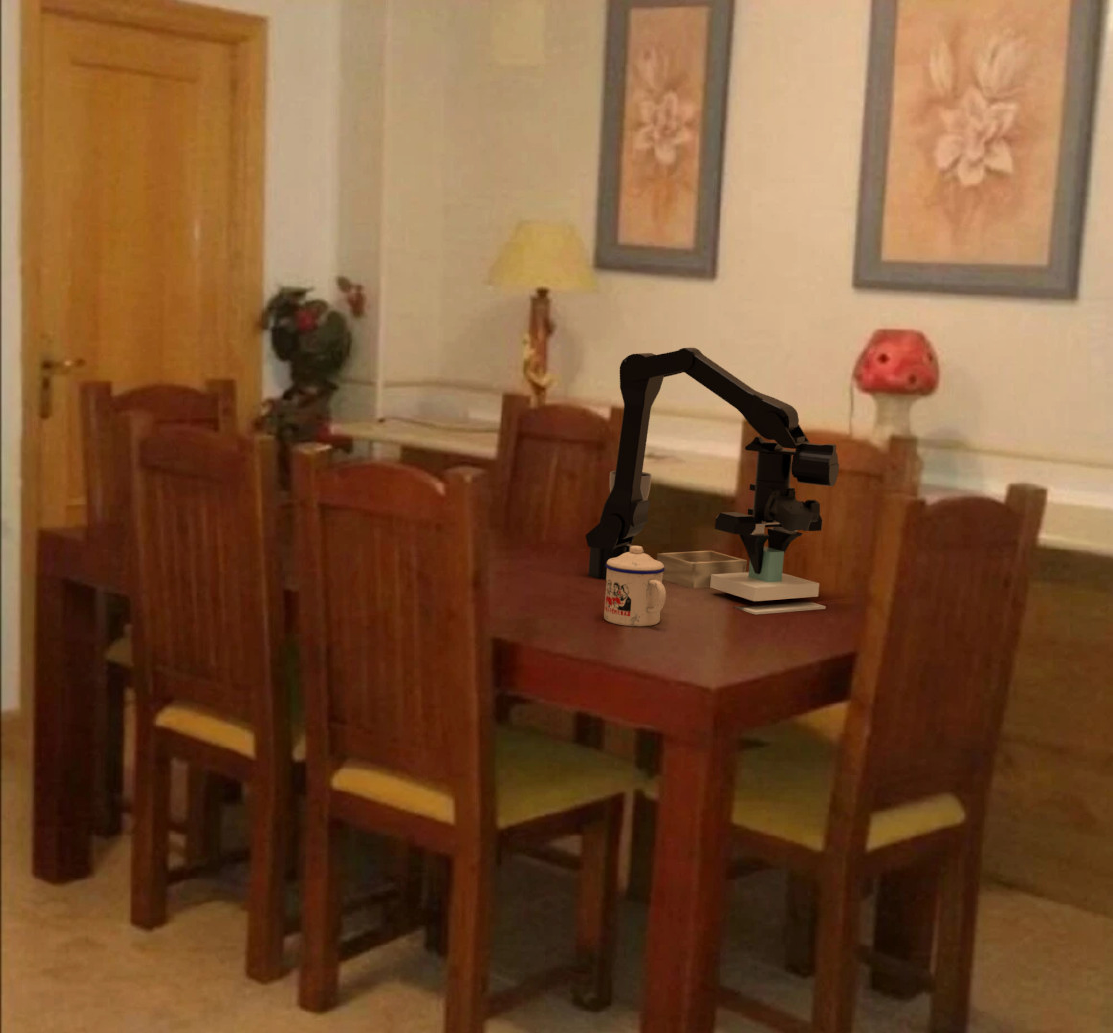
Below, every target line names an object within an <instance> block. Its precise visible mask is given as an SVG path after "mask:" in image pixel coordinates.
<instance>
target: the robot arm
mask: <svg viewBox="0 0 1113 1033" xmlns="http://www.w3.org/2000/svg"><path fill="white" fill-rule="evenodd" d="M683 373H684V374H686V375H687V376H689V377H690V378H692V379H694V380H695V381H696V382H698V383H699V384H700V385H702V386H703V387H705V388H706V389H708V390H709V391H710V392H711V393H713V394H715V395H716V396H718V397H719V398H720V399H722V400H723V401H724V402H727V403H728V404H729V405H730V406H732V407H733V408H735V409H736V410H737V411H738V412H740V414H741V415H742V416H743V417H744V419H745V420H746V422H747V423H748V424H749V426H751V428H753V429H754V431H756V433H757V434H759V436H754V438H753V440H752V441H751V442H750V443H748V444H747V445H745V447H744V449H745V450H746V451H751V452H756V453H757V456H756V466H755V467H756V468H755V479H754V483H749V491H753V502H752V503H753V505H752V506H753V507H751V508H747V514H746V513H742V512H739V511H738V512H736V511H731V512H719V513H718V515H717V516H716V517H715V524H714V525H715V526H714V530H717V531H718V530H719V531H721V532H724V533H725V532H726V533H728V534H733V535H738V536H739V538H740V540H741V542H742V544H743V545H744V548H745V550H746V552H747V556H748V558H749V562H750V561H751V564H752V567H753V569H754V572H755V573H756V574H760V573H761V569H762V562H763V551H764V546H765V543H766V542H767V547H769V548H773V549H776V550H780V551H784V555H785V554H786V551H787V550H788V547H789V546H790V544H791V543H792V542H793V541H794V540H795V539H797V538H798V537H802V535H803V533H802V532H799V531H803V532H807V531H808V532H818V531H820V532H821V531H822V530H823V519H822V517H821V515H820V514H821V510H820V509H821V504H820V502H819V501H818V500H816V499H807V500H805V501H803V500H802V501H799V500H797V498H796V494H797V492H796V490H795V487H792V486H791V477H792V476H793V478H796V481H797V482H798V483H800V484H807V485H815V486H823V487H825V486H826V487H834V486H835V484H836V482H837V480H838V476H839V471H840V463H839V457H838V453H837V445H836V444H834V443H833V444H831V443H826V444H821V443H812V442H810V440H809V438H808V437H807V436H806V433H805V432H804V431H803V429H802V428H801V426H800V425H801V424H800V423H799V422H800V420H799V414H798V411H797V409H796V408H795V407H794V406H792V405H790V404H788V403H787V402H784V401H782V400H780V399H778V398H776V397H773V396H769V395H767V394H765V393H762V392H759V391H757V390H755V389H754V388H752V387H751V386H749V384H746V383H745V382H743V381H742V380H741V379H739V378H738V377H736V376H734V375H733V374H732V373H730V372H729V371H728V370H726V369H725V368H723V367H722V366H720V365H719V364H718V363H716V362H714V361H713V360H712V359H711V358H709V357H707V356H706V355H705V354H703V353H702V351H701V350H700V349H698V348H697V347H682V348H680V349H678V350H674V351H673V350H672V351H670V352H669V351H668V352H664V353H660V354H659V353H658V354H656V353H653V352H645V353H643V352H641V353H632V354H629V355H627V356H626V357H625V358H624V359H622V361H621V363H620V366H619V389H620V394H621V397H622V400H623V411H622V412H623V413H622V419H621V426H620V427H621V429H620V434H619V442H618V450H617V458H616V465H615V471H616V472H615V480H614V486H613V488H612V490H611V492H610V491H609V493H608V494H609V495H607V496H608V497H607V499H606V500H605V502H604V506H603V507H602V508H603V509H602V512H601V515H600V518H599V523H598V524H596V525H595V526H594V527H593V528H592V529H591V530H589V532H587V534H585V539H586V544H587V547H588V548H589V557H588V558H589V559H588V562H589V563H588V575H587V576H588V577H591V578H593V579H596V580H606V576H607V568H606V564H607V561H608V560H609V559H611V558H615V557H618V556H620V555H622V554H623V553H626V552H629V550H630V546H627V545H628V544H630V545H632V544H633V542H634V539H635V537H636V536H637V535H638V534H640V533H641V532H642V531H643V529H644V527H645V524H648V523H649V518H648V512H649V508H650V505H651V499H647V500H643V498H642V494H641V490H640V485H641V478H642V472H643V470H644V461H645V455H646V446H647V441H648V440H647V438H648V433H649V432H648V431H649V426H650V419H651V409H652V407H653V405H654V402H655V401H656V398H657V397H658V394H659V393H660V390H661V388H662V384H663V381H664V378H667V377H670V376H675V375H679V374H683ZM765 439H766V440H768V441H765ZM791 475H792V476H791ZM766 528H767V534H766V533H765V531H766V530H765V529H766Z"/></svg>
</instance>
